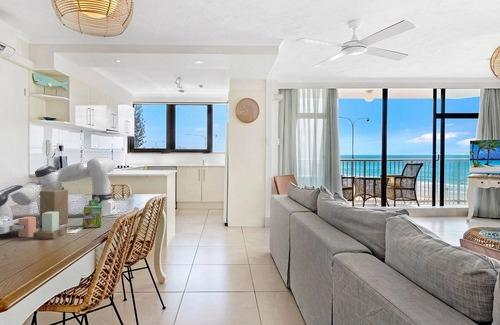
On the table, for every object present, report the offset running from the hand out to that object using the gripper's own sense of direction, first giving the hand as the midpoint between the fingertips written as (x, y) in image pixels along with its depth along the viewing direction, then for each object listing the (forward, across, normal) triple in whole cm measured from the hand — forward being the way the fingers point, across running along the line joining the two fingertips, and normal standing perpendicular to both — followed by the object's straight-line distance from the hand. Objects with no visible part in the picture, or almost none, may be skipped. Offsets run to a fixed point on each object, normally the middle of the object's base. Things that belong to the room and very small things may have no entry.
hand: (29, 225), depth 151 cm
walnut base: (+11, 0, -5) cm, 12 cm away
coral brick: (-1, 0, -5) cm, 5 cm away
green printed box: (+20, -22, -5) cm, 30 cm away
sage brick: (+11, 0, -2) cm, 11 cm away
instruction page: (+14, -12, -5) cm, 19 cm away
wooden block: (-4, -24, -5) cm, 25 cm away
